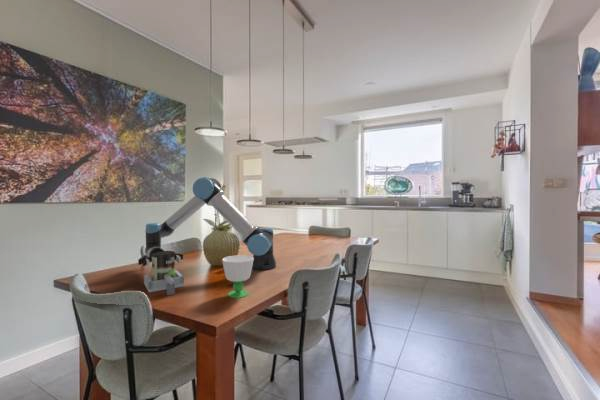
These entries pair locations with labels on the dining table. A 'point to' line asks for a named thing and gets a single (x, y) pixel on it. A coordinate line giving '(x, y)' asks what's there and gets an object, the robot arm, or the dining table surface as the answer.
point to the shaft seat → (164, 283)
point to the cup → (237, 273)
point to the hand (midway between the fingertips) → (164, 262)
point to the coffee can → (163, 264)
